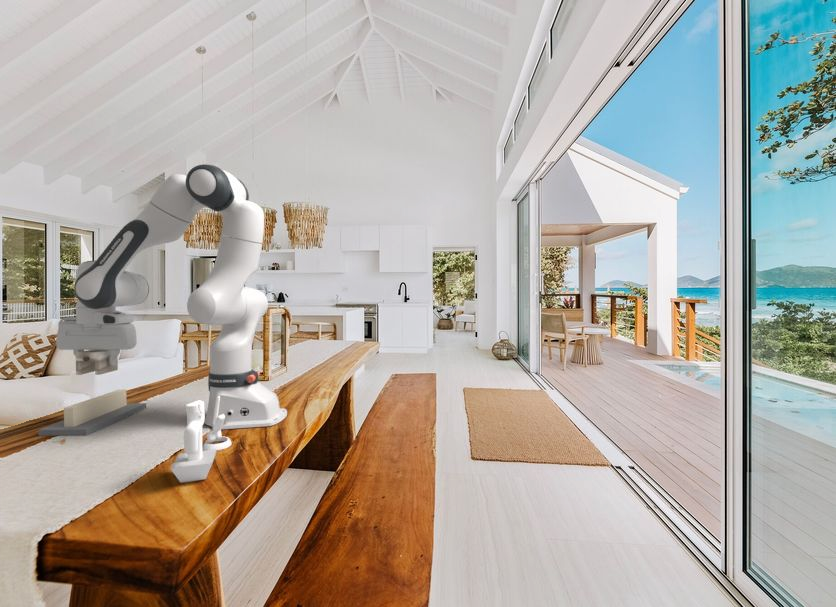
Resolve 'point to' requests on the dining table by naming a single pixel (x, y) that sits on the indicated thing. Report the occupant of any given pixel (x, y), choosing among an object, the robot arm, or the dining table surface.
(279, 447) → the dining table surface
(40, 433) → the cleat board
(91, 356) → the cabinet block
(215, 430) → the hook
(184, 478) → the figurine
